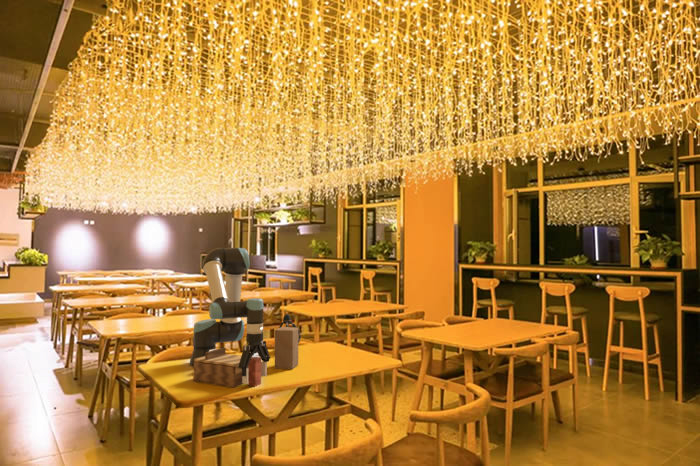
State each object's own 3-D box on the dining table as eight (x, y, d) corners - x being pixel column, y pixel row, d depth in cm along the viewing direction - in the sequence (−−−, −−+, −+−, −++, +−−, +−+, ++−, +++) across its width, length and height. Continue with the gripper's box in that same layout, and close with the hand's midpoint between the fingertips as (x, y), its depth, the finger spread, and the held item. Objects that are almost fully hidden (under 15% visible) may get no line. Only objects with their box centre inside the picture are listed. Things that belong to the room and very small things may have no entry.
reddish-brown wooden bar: (248, 385, 206) (248, 358, 207) (253, 383, 210) (254, 356, 211) (255, 386, 205) (255, 359, 205) (260, 384, 208) (261, 357, 209)
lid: (194, 368, 214) (194, 352, 214) (216, 361, 227) (216, 346, 228) (236, 374, 203) (236, 357, 203) (257, 367, 216) (257, 350, 216)
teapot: (284, 355, 267) (284, 315, 268) (266, 348, 287) (267, 311, 288) (302, 352, 274) (302, 314, 275) (284, 345, 294) (284, 309, 295)
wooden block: (292, 369, 234) (292, 330, 235) (274, 368, 236) (274, 329, 237) (298, 364, 244) (298, 327, 245) (280, 364, 246) (281, 326, 247)
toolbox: (193, 381, 213) (193, 362, 214) (217, 373, 228) (217, 355, 228) (233, 387, 203) (233, 367, 203) (255, 378, 217) (256, 359, 217)
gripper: (243, 337, 196) (243, 387, 195) (277, 329, 218) (277, 373, 217) (230, 336, 199) (230, 385, 198) (264, 327, 221) (264, 372, 220)
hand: (254, 379), depth 207 cm, fingers open, 13 cm apart
